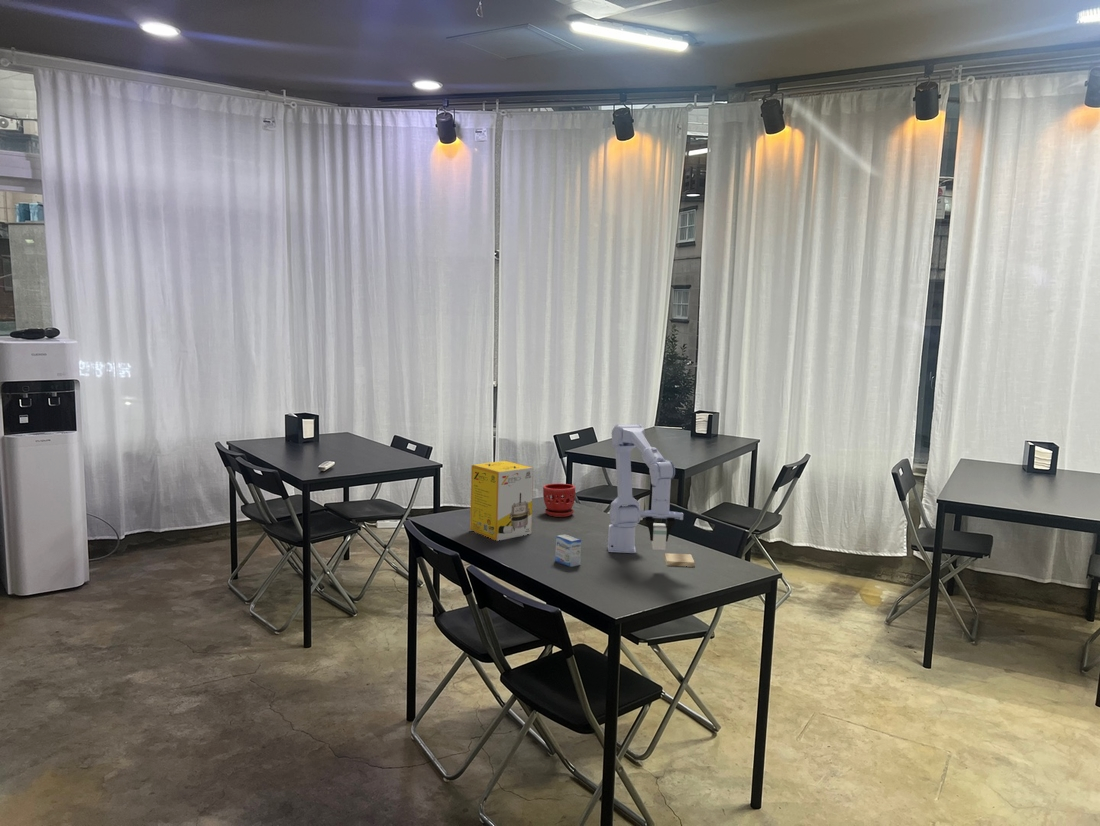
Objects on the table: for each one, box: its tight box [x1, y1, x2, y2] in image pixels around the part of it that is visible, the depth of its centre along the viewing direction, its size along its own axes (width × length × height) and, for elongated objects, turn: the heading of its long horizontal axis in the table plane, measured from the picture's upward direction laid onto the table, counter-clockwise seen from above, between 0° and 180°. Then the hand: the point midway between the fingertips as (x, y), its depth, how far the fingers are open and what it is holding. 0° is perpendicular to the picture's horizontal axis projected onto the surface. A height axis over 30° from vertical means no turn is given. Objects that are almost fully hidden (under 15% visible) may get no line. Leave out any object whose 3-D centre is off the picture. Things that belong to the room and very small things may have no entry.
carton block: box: [651, 522, 667, 551], centre depth 254 cm, size 4×6×7 cm
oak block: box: [663, 552, 696, 568], centre depth 265 cm, size 9×9×2 cm
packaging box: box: [469, 460, 534, 542], centre depth 293 cm, size 16×16×25 cm
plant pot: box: [542, 483, 576, 518], centre depth 323 cm, size 13×13×12 cm
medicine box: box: [554, 533, 582, 568], centre depth 260 cm, size 8×4×9 cm, turn 40°
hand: (658, 540), depth 255 cm, fingers closed on carton block, 4 cm apart
